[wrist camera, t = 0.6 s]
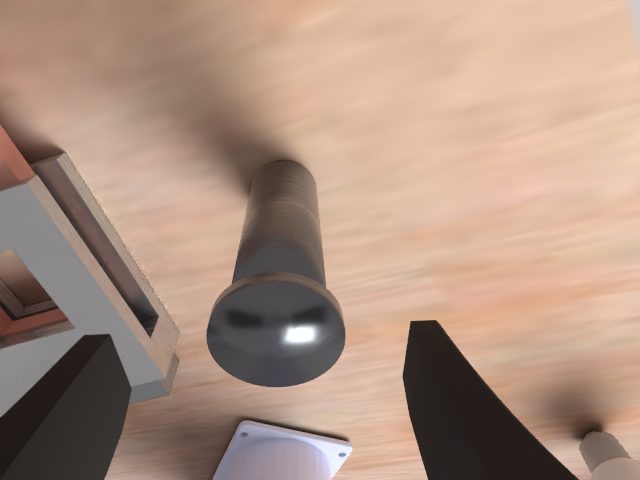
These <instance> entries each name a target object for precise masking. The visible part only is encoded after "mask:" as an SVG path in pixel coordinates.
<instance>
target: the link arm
mask: <svg viewBox="0 0 640 480" xmlns="http://www.w3.org/2000/svg"><path fill="white" fill-rule="evenodd" d="M31 176H35V173H34V172H33V171H32V169H31V168H30V166H29V165H28V163H27V162H26V161H25V159H24V158H23V156H22V155H21V153H20V152H19V150H18V149H17V148H16V146H15V145H14V143H13V142H12V140H11V139H10V137H9V136H8V135H7V133H6V132H5V130H4V129H3V127H2V126H1V125H0V186H3V185H6V184H9V183H12V182H16V181H19V180H22V179H25V178H28V177H31ZM65 321H69V319H68V318H67V317H66V316H65V314H64V313H63V312H62V311H61V309H60V308H59V309H55V310H52V311H48V312H45V313H41V314H37V315H34V316H30V317H27V318H23V319H19V320H16V321H12V319H11V318H10V317H9V316H8V315H7V314H6V313H5V312H4V311H3V309H2V308H1V307H0V339H3V338H7V337H10V336H14V335H17V334H21V333H25V332H28V331H32V330H36V329H39V328H43V327H47V326H50V325H54V324H58V323H61V322H65Z"/></svg>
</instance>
